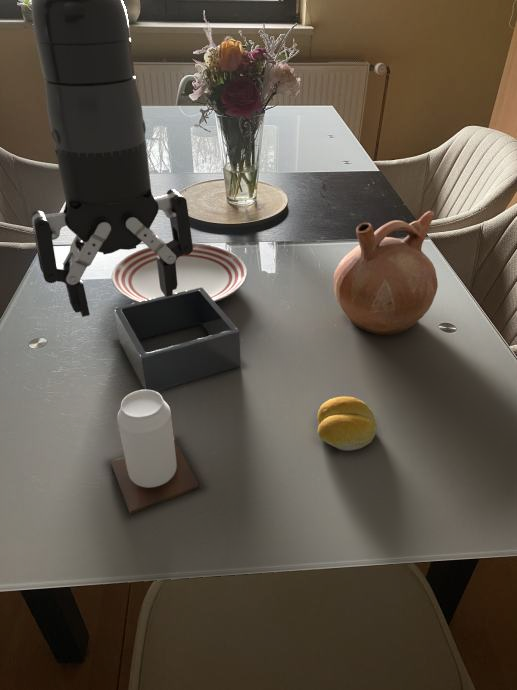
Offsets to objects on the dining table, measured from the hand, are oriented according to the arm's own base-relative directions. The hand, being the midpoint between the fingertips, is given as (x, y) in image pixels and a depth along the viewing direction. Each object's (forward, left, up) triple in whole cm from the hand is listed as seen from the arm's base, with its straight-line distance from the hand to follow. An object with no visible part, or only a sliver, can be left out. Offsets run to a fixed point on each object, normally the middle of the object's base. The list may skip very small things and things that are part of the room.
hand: (126, 302), depth 55 cm
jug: (+50, +18, -26) cm, 59 cm away
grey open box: (+12, +24, -26) cm, 37 cm away
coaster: (0, 0, -26) cm, 26 cm away
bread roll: (+27, -4, -26) cm, 38 cm away
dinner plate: (+21, +47, -26) cm, 58 cm away
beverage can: (0, 0, -26) cm, 26 cm away
